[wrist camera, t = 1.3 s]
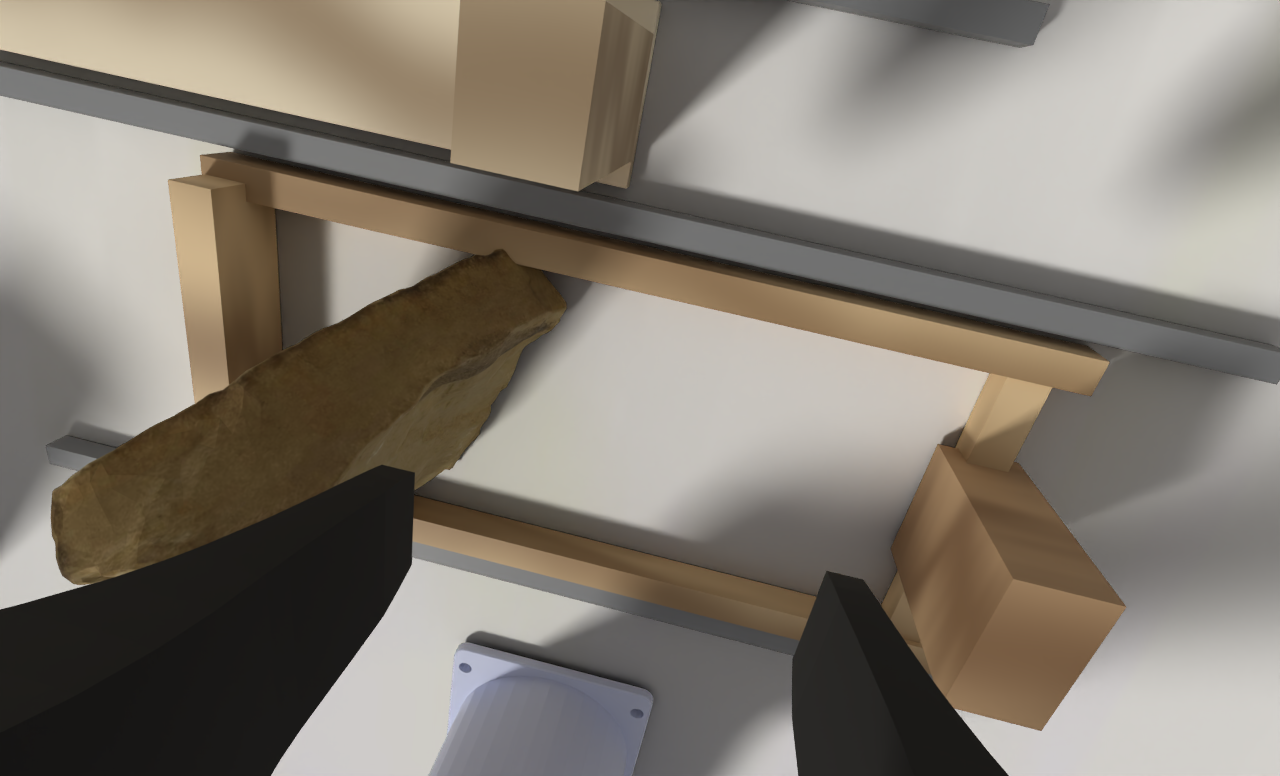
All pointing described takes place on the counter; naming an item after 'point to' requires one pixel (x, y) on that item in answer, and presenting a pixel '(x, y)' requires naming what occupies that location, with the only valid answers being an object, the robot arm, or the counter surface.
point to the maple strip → (389, 68)
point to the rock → (311, 420)
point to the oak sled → (955, 478)
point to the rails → (952, 3)
